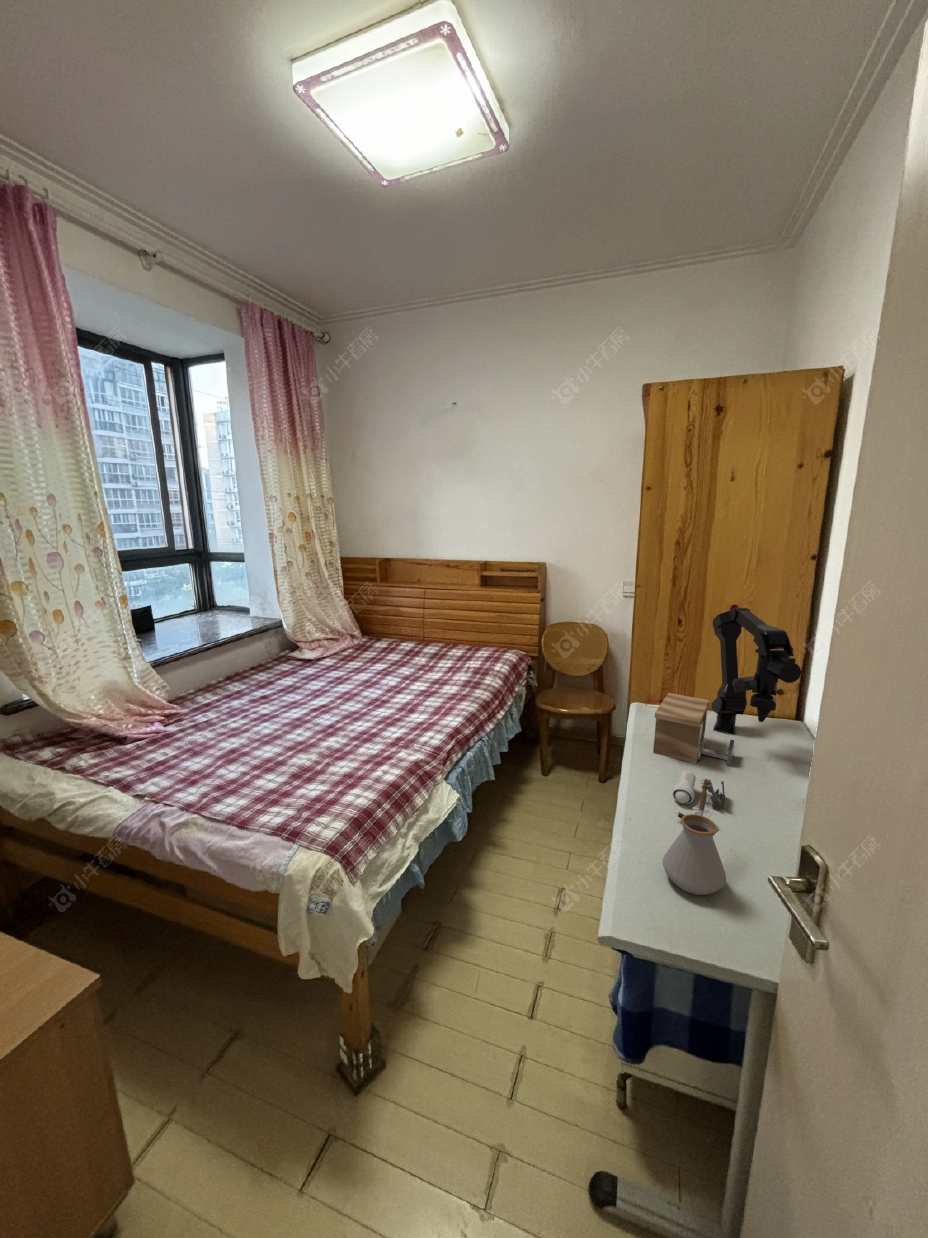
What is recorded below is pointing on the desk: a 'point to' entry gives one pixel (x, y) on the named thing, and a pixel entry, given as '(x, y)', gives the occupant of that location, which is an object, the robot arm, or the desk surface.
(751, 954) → the desk surface
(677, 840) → the coffee pot
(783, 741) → the desk surface
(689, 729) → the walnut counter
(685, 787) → the clip-on lamp
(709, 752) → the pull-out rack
